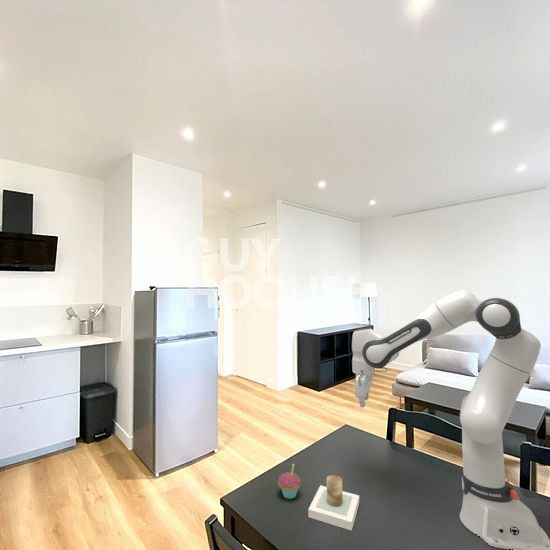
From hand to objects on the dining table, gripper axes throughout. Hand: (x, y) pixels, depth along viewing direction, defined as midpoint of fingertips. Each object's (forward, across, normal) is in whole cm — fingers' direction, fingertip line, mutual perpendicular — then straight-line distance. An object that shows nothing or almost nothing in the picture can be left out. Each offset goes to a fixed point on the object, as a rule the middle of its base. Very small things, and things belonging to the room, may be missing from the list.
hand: (364, 403), depth 123 cm
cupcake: (+29, -22, +24) cm, 44 cm away
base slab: (+29, -23, +7) cm, 38 cm away
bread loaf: (+26, -23, +7) cm, 36 cm away
